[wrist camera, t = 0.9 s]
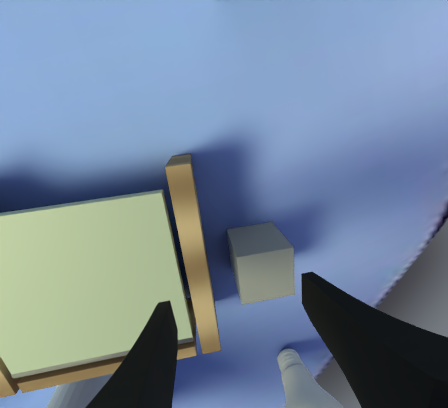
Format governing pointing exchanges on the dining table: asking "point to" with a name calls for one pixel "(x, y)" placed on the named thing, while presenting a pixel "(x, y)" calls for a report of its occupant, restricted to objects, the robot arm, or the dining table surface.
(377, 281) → the dining table surface
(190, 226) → the hatch frame
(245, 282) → the gray block
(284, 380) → the lightbulb
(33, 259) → the hatch
